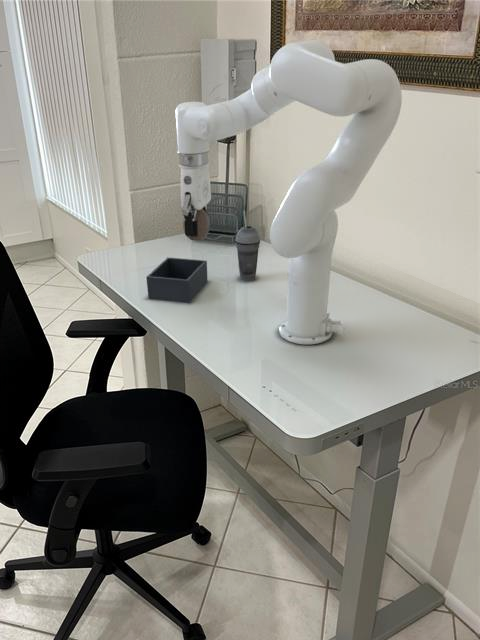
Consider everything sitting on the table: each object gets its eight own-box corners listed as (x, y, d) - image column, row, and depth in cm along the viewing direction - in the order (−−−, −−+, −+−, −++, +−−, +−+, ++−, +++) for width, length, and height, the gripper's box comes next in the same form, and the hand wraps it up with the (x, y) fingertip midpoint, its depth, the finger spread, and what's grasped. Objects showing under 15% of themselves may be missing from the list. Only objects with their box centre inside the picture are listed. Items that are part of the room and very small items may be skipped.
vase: (210, 242, 149) (209, 207, 145) (183, 243, 150) (181, 208, 145) (209, 233, 155) (208, 199, 150) (183, 234, 155) (182, 200, 151)
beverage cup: (251, 285, 170) (251, 216, 159) (230, 280, 174) (229, 212, 163) (264, 276, 175) (265, 209, 164) (244, 272, 179) (243, 206, 168)
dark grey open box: (207, 281, 174) (206, 260, 170) (189, 303, 162) (188, 280, 158) (168, 278, 178) (167, 257, 174) (148, 298, 166) (146, 276, 162)
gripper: (196, 167, 134) (199, 243, 143) (219, 151, 147) (220, 221, 157) (165, 166, 136) (170, 241, 146) (191, 150, 150) (194, 219, 159)
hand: (196, 230), depth 151 cm, fingers closed on vase, 7 cm apart
